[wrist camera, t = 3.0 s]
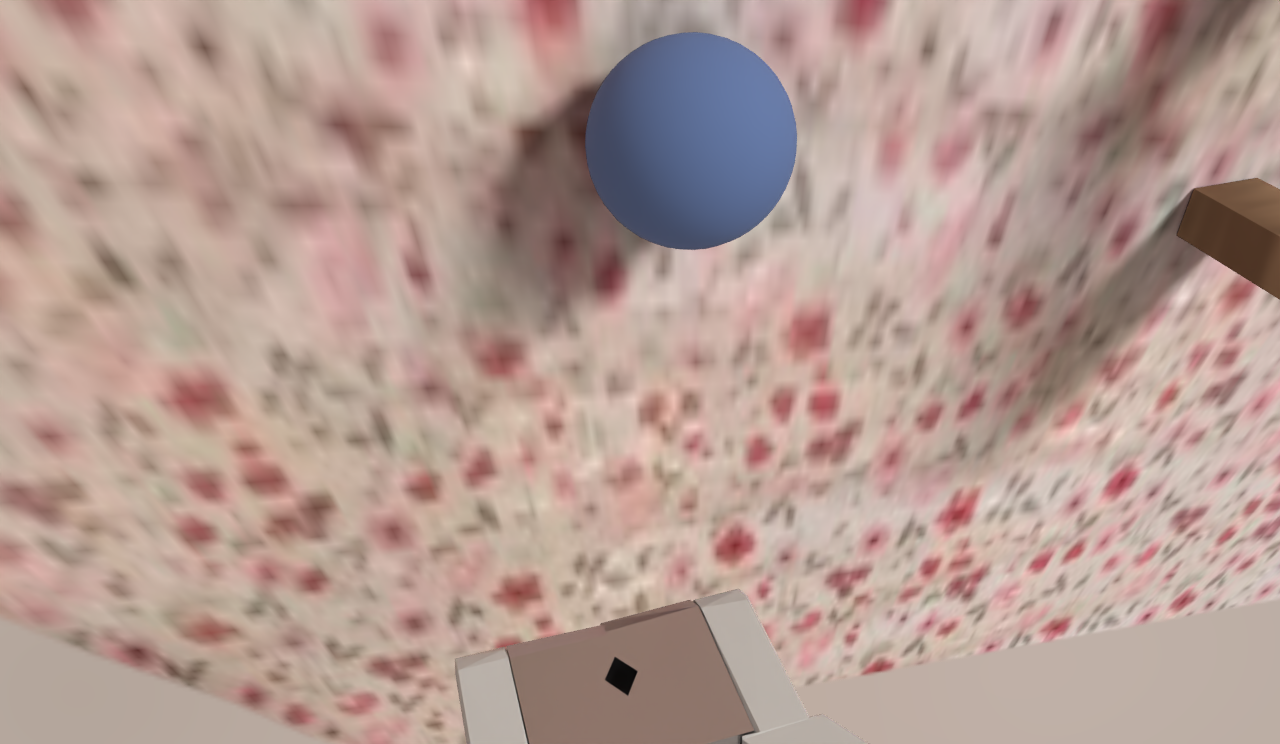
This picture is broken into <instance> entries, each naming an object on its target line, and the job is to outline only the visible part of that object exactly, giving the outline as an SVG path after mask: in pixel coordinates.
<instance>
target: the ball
mask: <svg viewBox="0 0 1280 744" xmlns="http://www.w3.org/2000/svg"><path fill="white" fill-rule="evenodd" d="M796 146H797V131H796V122H795V118H794V114H793V110H792V105H791V103H790V100H789V98H788V95H787V93H786V91H785V89H784V87H783V86H782V84H781V82H780V81H779V79H778V77H777V76H776V75H775V73H774V72H773V71H772V70H771V68H770V67H769V66H768V65H767V64H766V63H765V62H764V61H763V60H762V59H761V58H759V57H758V56H757V55H756V54H755V53H753V52H752V51H750V50H749V49H747V48H746V47H744V46H742V45H741V44H739V43H737V42H734V41H732V40H730V39H728V38H724V37H720V36H716V35H712V34H707V33H698V32H693V33H679V34H673V35H668V36H664V37H661V38H658V39H655V40H652V41H650V42H648V43H646V44H644V45H642V46H640V47H639V48H637V49H636V50H634V51H632V52H631V53H630V54H628V55H627V56H626V57H625V58H624V59H622V60H621V61H620V62H619V63H618V64H617V65H616V66H615V67H614V68H613V69H612V71H611V72H610V73H609V75H608V76H607V77H606V78H605V80H604V81H603V83H602V85H601V86H600V88H599V90H598V92H597V94H596V96H595V98H594V101H593V103H592V106H591V109H590V113H589V116H588V122H587V128H586V140H585V148H586V157H587V164H588V168H589V172H590V176H591V179H592V181H593V184H594V186H595V188H596V190H597V193H598V195H599V196H600V198H601V200H602V201H603V203H604V205H605V206H606V207H607V208H608V209H609V211H610V212H611V213H612V214H613V216H614V217H615V218H616V219H617V220H618V221H619V222H620V223H621V224H623V225H624V226H625V227H626V228H627V229H629V230H630V231H632V232H633V233H635V234H636V235H638V236H639V237H641V238H643V239H645V240H648V241H650V242H652V243H655V244H658V245H661V246H665V247H668V248H675V249H688V250H696V249H706V248H711V247H715V246H719V245H721V244H724V243H727V242H730V241H732V240H734V239H737V238H739V237H741V236H742V235H744V234H745V233H747V232H749V231H750V230H751V229H753V228H754V227H755V226H757V225H758V224H759V223H760V222H761V221H762V220H763V219H764V218H765V217H766V216H767V215H768V214H769V213H770V212H771V211H772V209H773V208H774V207H775V205H776V204H777V203H778V201H779V200H780V198H781V196H782V194H783V192H784V191H785V189H786V187H787V184H788V182H789V179H790V177H791V174H792V171H793V167H794V163H795V157H796Z"/></svg>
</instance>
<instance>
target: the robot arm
mask: <svg viewBox="0 0 1280 744" xmlns="http://www.w3.org/2000/svg"><path fill="white" fill-rule="evenodd" d="M506 651H507V652H506ZM455 675H456V681H457V687H458V693H459V699H460V705H461V711H462V717H463V724H464V730H465V736H466V742H467V744H869V743H868V742H866V741H865V740H863V739H862V738H860V737H859V736H857V735H856V734H854V733H852V732H851V731H849V730H848V729H846V728H845V727H843V726H841V725H840V724H838V723H837V722H835V721H834V720H832V719H831V718H829V717H828V716H826V715H825V714H820V715H816V716H811V717H809V715H808V713H807V711H806V709H805V707H804V705H803V703H802V701H801V699H800V698H799V695H798V694H797V692H796V690H795V688H794V686H793V684H792V682H791V680H790V678H789V676H788V674H787V672H786V670H785V668H784V666H783V664H782V662H781V660H780V659H779V657H778V655H777V653H776V651H775V649H774V647H773V645H772V643H771V641H770V639H769V637H768V635H767V633H766V631H765V629H764V627H763V625H762V624H761V622H760V620H759V618H758V616H757V614H756V612H755V610H754V608H753V606H752V604H751V602H750V600H749V598H748V596H747V595H746V594H745V593H744V592H742V591H741V590H740V589H735V590H731V591H727V592H723V593H719V594H715V595H712V596H708V597H704V598H700V599H696V600H693V601H691V600H687V601H683V602H680V603H676V604H672V605H668V606H665V607H661V608H657V609H653V610H649V611H646V612H642V613H638V614H634V615H630V616H627V617H623V618H619V619H615V620H612V621H608V622H604V623H601V624H600V626H595V627H591V628H586V629H582V630H577V631H573V632H568V633H564V634H559V635H555V636H550V637H546V638H541V639H537V640H532V641H528V642H523V643H519V644H514V645H510V646H507V648H506V649H505V647H502V648H498V649H493V650H489V651H485V652H481V653H477V654H472V655H468V656H464V657H460V658H456V659H455Z"/></svg>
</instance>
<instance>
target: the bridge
mask: <svg viewBox="0 0 1280 744" xmlns="http://www.w3.org/2000/svg"><path fill="white" fill-rule="evenodd" d="M1177 236H1178V237H1180V238H1182V239H1183V240H1185V241H1186V242H1188V243H1190V244H1191V245H1193V246H1195V247H1196V248H1198V249H1199V250H1201V251H1203V252H1204V253H1206V254H1207V255H1209V256H1211V257H1212V258H1214V259H1215V260H1217V261H1219V262H1220V263H1222V264H1223V265H1225V266H1227V267H1228V268H1230V269H1231V270H1233V271H1235V272H1236V273H1238V274H1239V275H1241V276H1243V277H1244V278H1246V279H1247V280H1249V281H1251V282H1252V283H1254V284H1256V285H1257V286H1259V287H1260V288H1262V289H1264V290H1265V291H1267V292H1268V293H1270V294H1272V295H1273V296H1275V297H1276V298H1278V299H1280V189H1278V188H1276V187H1274V186H1272V185H1270V184H1268V183H1266V182H1264V181H1262V180H1260V179H1258V178H1254V179H1248V180H1242V181H1236V182H1230V183H1224V184H1218V185H1212V186H1206V187H1200V188H1194V190H1193V193H1192V196H1191V198H1190V201H1189V204H1188V206H1187V209H1186V212H1185V214H1184V217H1183V220H1182V222H1181V225H1180V228H1179V231H1178V233H1177Z"/></svg>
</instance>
